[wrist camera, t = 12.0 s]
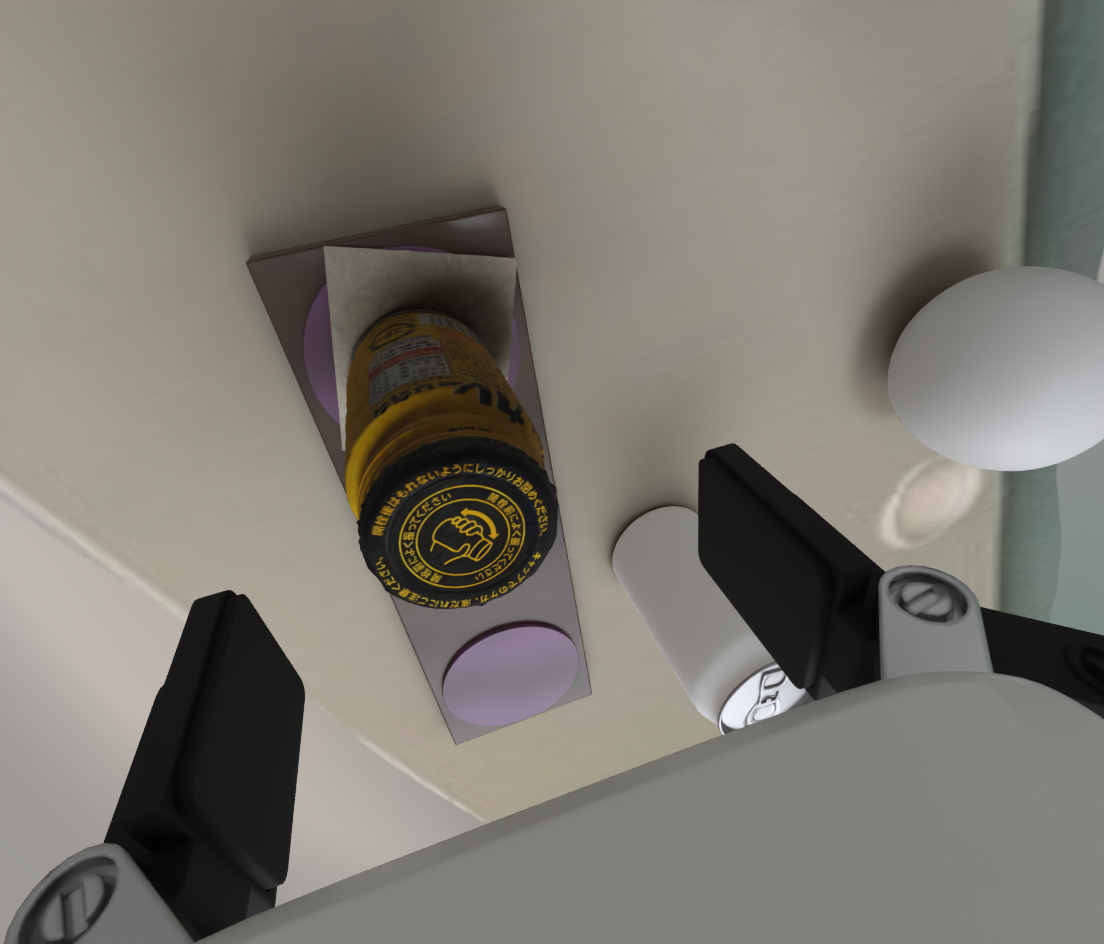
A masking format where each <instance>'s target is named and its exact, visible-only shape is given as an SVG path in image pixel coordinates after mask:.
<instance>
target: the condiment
mask: <svg viewBox="0 0 1104 944" xmlns="http://www.w3.org/2000/svg"><path fill="white" fill-rule="evenodd" d="M324 256H325V268H326V278H327V289H328V301H329V309H330V321H331V333H332V343H333V353H334V364H335V375H336V386H337V396H338V407H339V419H340V429H341V440H342V451H345V462H344V469H343V474H344V478H345V486H346V493H347V499H348V502H349V504H350V506H351V509H352V511H353V513H354V514H355V516H356V518H357V519H358V521H357V524H358V533H359V536H360V539H359V544H360V550H361V552H362V553H363V557H364V559H365V562H366V564H367V567H368V569H369V570H370V571H371V572H372V573H373V574H374V575H375V576H376V577H377V578H378V579H379V580H380V582H381V583H382V585H383V587H384V589H385V590H386V591H387V592H389V593H390V594H392V595H393V596H395V597H397V598H399V599H401V600H404V601H406V602H408V603H412V604H415V605H418V606H422V607H427V608H433V609H455V608H467V607H471V606H484V605H485V604H486V603H487V602H489V601H491V600H494V599H497V598H500V597H502V596H504V595H506V594H508V593H510V592H512V591H513V590H514V589H515V588H517V587H518V586H519V585H521V584H522V583H523V582H524V581H525V580H526V579H528V578H529V577H530V576H532V575H533V574H535V573H536V571H537V570H538V568H539V567H540V565H541V564H542V563H543V561H544V559H545V558H546V556H547V554H548V553H549V551H550V549H551V548H552V546H553V544H554V542H555V539H556V537H557V523H558V508H559V504H558V501H557V499H556V496H555V494H556V493H557V490H556V487H555V486H554V485H553V484H552V483H551V482H550V479H549V476H548V474H547V471H546V470H545V455H544V448H543V445H542V441H541V438H540V436H539V434H538V432H537V430H536V428H535V426H534V424H533V423H532V421H531V419H530V418H529V416H528V414H527V413H526V411H525V409H524V407H523V406H522V404H521V403H520V402H519V400H518V398H517V397H516V395H515V393H514V392H513V390H512V388H511V386H510V385H509V383H508V370H509V361H510V349H511V334H512V322H513V304H514V293H515V284H516V266H517V258H505V257H493V256H479V255H460V254H452V253H434V252H417V251H410V250H382V249H369V248H349V247H332V246H324Z"/></svg>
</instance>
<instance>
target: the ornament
mask: <svg viewBox="0 0 1104 944" xmlns="http://www.w3.org/2000/svg"><path fill="white" fill-rule="evenodd" d="M888 392H889V397H890V401H891V404H892V406H893V409H894V411H895V413H896V415H897V416H898V418H899V420H900V421H901V422H902V424H903V425H904V426H905V428H906V429H907V430H908V431H909V432H910V433H911V434H912V435H913V436H914V437H915V438H916V439H918V440H919V441H920V442H921V443H923V444H924V445H925V446H927V447H928V448H930V449H932V450H933V451H935V452H937V453H939V454H941V455H943V456H945V457H947V458H949V459H951V460H954V461H957V462H959V463H962V464H966V465H969V466H973V467H977V468H982V469H988V470H998V471H1022V470H1031V469H1037V468H1042V467H1046V466H1050V465H1053V464H1056V463H1059V462H1062V461H1065V460H1067V459H1069V458H1072V457H1074V456H1076V455H1078V454H1080V453H1082V452H1084V451H1085V450H1087V449H1089V448H1090V447H1092V446H1094V445H1095V444H1096V443H1098V442H1099V441H1101V440H1102V439H1103V438H1104V284H1102V283H1100V282H1098V281H1096V280H1093V279H1091V278H1089V277H1086V276H1083V275H1080V274H1077V273H1074V272H1070V271H1066V270H1061V269H1055V268H1048V267H1034V266H1025V267H1010V268H1003V269H997V270H993V271H988V272H985V273H981V274H978V275H975V276H972V277H970V278H967V279H965V280H963V281H961V282H959V283H957V284H955V285H953V286H951V287H949V288H948V289H946V290H945V291H943V292H942V293H940V294H939V295H937V296H936V297H935V298H933V299H932V300H931V301H930V302H929V303H927V304H926V305H925V306H924V307H923V308H922V309H921V310H920V311H919V312H918V313H917V314H916V315H915V316H914V317H913V319H912V320H911V321H910V322H909V324H908V325H907V326H906V328H905V329H904V331H903V332H902V334H901V336H900V337H899V339H898V341H897V343H896V346H895V348H894V351H893V353H892V357H891V360H890V364H889V370H888Z"/></svg>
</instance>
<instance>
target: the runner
mask: <svg viewBox="0 0 1104 944" xmlns="http://www.w3.org/2000/svg"><path fill="white" fill-rule="evenodd" d="M324 246H332V247H349V248H369V249H382V250H410V251H417V252H434V253H452V254H460V255H479V256H493V257H505V258H515V255H514V250H513V244H512V238H511V233H510V227H509V221H508V216H507V210H506V208H504V207H502V206H495V207H490V208H485V209H480V210H475V211H470V212H466V213H461V214H456V215H451V216H446V217H441V218H437V219H432V220H427V221H422V222H417V223H412V224H408V225H403V226H398V227H393V228H388V229H383V230H379V231H374V232H369V233H364V234H359V235H354V236H350V237H345V238H340V239H335V240H330V241H325V242H321V243H316V244H311V245H306V246H301V247H296V248H292V249H287V250H282V251H277V252H272V253H267V254H263V255H258V256H253V257H250V258H249V259H248V260H247V262H246V265H247V267H248V269H249V272H250V274H251V276H252V278H253V281H254V283H255V285H256V288H257V290H258V292H259V295H260V297H261V299H262V301H263V304H264V306H265V308H266V311H267V313H268V315H269V318H270V320H271V322H272V324H273V327H274V329H275V331H276V334H277V336H278V338H279V341H280V343H281V345H282V347H283V350H284V352H285V354H286V357H287V359H288V361H289V364H290V366H291V368H292V370H293V373H294V375H295V377H296V380H297V382H298V384H299V386H300V389H301V391H302V393H303V396H304V398H305V400H306V403H307V405H308V407H309V409H310V412H311V414H312V416H313V419H314V421H315V423H316V426H317V428H318V430H319V432H320V435H321V437H322V439H323V442H324V444H325V446H326V449H327V451H328V453H329V455H330V458H331V460H332V462H333V465H334V467H335V469H336V472H337V474H338V476H339V478H340V481H341V483H342V485H343V488H344V490H345V492H346V486H345V478H344V474H343V469H344V462H345V451H342V440H341V429H340V419H339V407H338V396H337V386H336V375H335V364H334V353H333V343H332V333H331V321H330V309H329V301H328V289H327V278H326V268H325V256H324ZM508 383H509V385H510V386H511V388H512V390H513V392H514V393H515V395H516V397H517V398H518V400H519V402H520V403H521V404H522V406H523V407H524V409H525V411H526V413H527V414H528V416H529V418H530V419H531V421H532V423H533V424H534V426H535V428H536V430H537V432H538V434H539V436H540V438H541V441H542V445H543V448H544V455H545V470H546V471H547V474H548V476H549V479H550V482H551V483H552V484H553V485H554V486H555V482H554V476H553V470H552V465H551V459H550V454H549V448H548V442H547V437H546V431H545V425H544V420H543V414H542V408H541V403H540V397H539V391H538V386H537V380H536V374H535V369H534V363H533V357H532V352H531V346H530V340H529V335H528V329H527V323H526V318H525V312H524V306H523V301H522V295H521V289H520V284H519V278H518V272H517V267H516V284H515V293H514V304H513V322H512V334H511V349H510V361H509V370H508ZM346 494H347V493H346ZM555 496H556V499H557V493H556V494H555ZM557 501H558V499H557ZM357 520H358V519H357ZM390 596H391V598H392V600H393V602H394V605H395V607H396V609H397V612H398V614H399V616H400V619H401V621H402V623H403V625H404V628H405V630H406V632H407V635H408V637H409V639H410V642H411V644H412V646H413V648H414V651H415V653H416V655H417V658H418V660H419V662H420V665H421V667H422V669H423V671H424V674H425V676H426V678H427V681H428V683H429V685H430V688H431V690H432V692H433V694H434V697H435V699H436V701H437V704H438V706H439V708H440V710H441V713H442V715H443V717H444V720H445V722H446V724H447V727H448V729H449V731H450V733H451V736H452V738H453V740H454V743H455V744H456V745H458V744H460V743H463V742H466V741H468V740H471V739H474V738H476V737H479V736H482V735H484V734H487V733H490V732H493V731H495V730H498V729H501V728H503V727H506V726H509V725H511V724H514V723H517V722H519V721H522V720H525V719H527V718H530V717H533V716H536V715H538V714H541V713H544V712H546V711H549V710H552V709H554V708H557V707H560V706H562V705H565V704H568V703H570V702H573V701H576V700H578V699H581V698H584V697H587V696H589V695H591V694H592V691H591V686H590V680H589V674H588V669H587V663H586V657H585V652H584V646H583V640H582V635H581V629H580V623H579V618H578V612H577V606H576V601H575V595H574V589H573V584H572V578H571V572H570V567H569V561H568V555H567V550H566V544H565V538H564V533H563V527H562V521H561V516H560V510H559V508H558V523H557V537H556V539H555V542H554V544H553V546H552V548H551V549H550V551H549V553H548V554H547V556H546V558H545V559H544V561H543V563H542V564H541V565H540V567H539V568H538V570H537V571H536V573H535V574H533V575H532V576H530V577H529V578H528V579H526V580H525V581H524V582H523V583H522V584H521V585H519V586H518V587H517V588H515V589H514V590H513V591H512V592H510V593H508V594H506V595H504V596H502V597H500V598H497V599H494V600H491V601H489V602H487V603H486V604H485V605H484V606H471V607H467V608H455V609H433V608H427V607H422V606H418V605H415V604H412V603H408V602H406V601H404V600H401V599H399V598H397V597H395V596H393V595H392V594H390Z"/></svg>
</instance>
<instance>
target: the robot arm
mask: <svg viewBox="0 0 1104 944" xmlns="http://www.w3.org/2000/svg"><path fill="white" fill-rule="evenodd" d="M698 555H699V559H700V562H701V564H702V566H703V567H704V569H705V570H706V571H707V573H708V574H709V575H710V577H711V578H712V579H713V580H714V582H715V583H716V584H717V586H718V587H719V588H720V590H721V591H722V592H723V594H724V595H725V596H726V598H727V599H728V600H729V601H730V603H731V604H732V605H733V607H734V608H735V609H736V611H737V612H738V613H739V615H740V616H741V617H742V618H743V620H744V621H745V622H746V624H747V625H748V626H749V628H750V629H751V630H752V632H753V633H754V634H755V635H756V637H757V638H758V639H759V641H760V642H761V643H762V645H763V646H764V647H765V649H766V650H767V651H768V652H769V654H770V655H771V656H772V658H773V659H774V660H775V662H776V663H777V664H778V666H779V667H780V668H781V670H782V671H783V672H784V673H785V675H786V676H787V677H788V679H789V680H790V681H791V683H792V684H793V685H794V686H795V687H796V688H798V689H804V688H805V690H806V691H807V692H808V693H809V695H810V696H811V697H812V699H813V700H814V701H815V702H812V703H809V704H806V705H803V706H800V707H798V708H795V709H792V710H789V711H786V712H783V713H781V714H778V715H775V716H772V717H769V718H767V719H764V720H761V721H759V722H756V723H753V724H751V725H748V726H745V727H743V728H740V729H737V730H735V731H732V732H729V733H727V734H724V735H721V736H719V737H716V738H713V739H711V740H708V741H705V742H702V743H700V744H697V745H694V746H692V747H689V748H686V749H684V750H681V751H678V752H676V753H673V754H670V755H668V756H665V757H662V758H660V759H657V760H654V761H652V762H649V763H646V764H644V765H641V766H638V767H636V768H633V769H631V770H628V771H625V772H623V773H620V774H617V775H615V776H612V777H609V778H607V779H604V780H601V781H599V782H596V783H594V784H591V785H588V786H586V787H583V788H580V789H578V790H575V791H572V792H570V793H567V794H565V795H562V796H559V797H557V798H554V799H551V800H549V801H546V802H544V803H541V804H538V805H536V806H533V807H530V808H528V809H525V810H523V811H520V812H517V813H515V814H512V815H509V816H507V817H504V818H502V819H499V820H496V821H494V822H491V823H488V824H486V825H483V826H481V827H478V828H476V829H473V830H470V831H468V832H465V833H462V834H460V835H457V836H455V837H452V838H450V839H447V840H444V841H442V842H439V843H437V844H434V845H431V846H429V847H426V848H424V849H421V850H418V851H416V852H413V853H411V854H408V855H405V856H403V857H400V858H398V859H395V860H392V861H390V862H387V863H385V864H382V865H380V866H377V867H374V868H372V869H369V870H367V871H364V872H361V873H359V874H356V875H354V876H351V877H348V878H346V879H343V880H341V881H339V882H336V883H334V884H331V885H329V886H326V887H324V888H321V889H319V890H316V891H314V892H311V893H309V894H307V895H304V896H301V897H299V898H296V899H294V900H292V901H289V902H287V903H284V904H282V905H279V906H277V907H275V901H276V892H277V886H278V885H280V884H283V883H284V881H285V880H286V876H287V872H288V864H289V863H288V862H289V854H290V844H291V834H292V823H293V813H294V803H295V793H296V783H297V773H298V763H299V752H300V743H301V733H302V723H303V712H304V703H305V690H304V685H303V682H302V680H301V678H300V677H299V675H298V673H297V672H296V670H295V669H294V667H293V666H292V664H291V663H290V661H289V660H288V658H287V657H286V655H285V654H284V652H283V651H282V649H281V647H280V646H279V644H278V643H277V641H276V640H275V638H274V637H273V635H272V634H271V632H270V631H269V629H268V628H267V626H266V625H265V623H264V621H263V620H262V618H261V617H260V615H259V614H258V612H257V611H256V609H255V608H254V606H253V605H252V603H251V602H250V600H249V599H248V597H247V596H246V595H244V594H240V595H236V594H235V593H234V592H233V591H231V590H226V591H223V592H219V593H216V594H213V595H209V596H206V597H202V598H199V599H197V600H195V601H194V603H193V604H192V607H191V610H190V612H189V615H188V618H187V621H186V624H185V627H184V629H183V633H182V635H181V638H180V641H179V644H178V647H177V649H176V652H175V655H174V658H173V661H172V664H171V666H170V669H169V672H168V675H167V678H166V681H165V683H164V685H163V686H162V687H161V688H160V690H159V692H158V694H157V695H156V698H155V701H154V704H153V706H152V709H151V712H150V715H149V717H148V720H147V723H146V726H145V728H144V732H143V734H142V737H141V740H140V742H139V745H138V748H137V751H136V754H135V756H134V759H133V762H132V765H131V768H130V770H129V773H128V776H127V779H126V782H125V784H124V787H123V790H122V793H121V795H120V798H119V801H118V804H117V807H116V810H115V812H114V815H113V818H112V821H111V823H110V826H109V829H108V832H107V835H106V837H105V840H104V843H103V844H99V845H95V846H92V847H88V848H86V849H84V850H82V851H80V852H78V853H76V854H74V855H73V856H71V857H69V858H67V859H66V860H65V861H64V862H62V863H61V864H60V865H58V866H57V867H56V868H54V869H53V870H52V871H50V872H49V874H47V875H46V876H45V877H44V879H43V880H41V882H39V883H38V885H37V886H36V887H35V888H34V889H33V890H32V891H31V892H30V894H29V895H28V896H27V898H26V899H25V900H24V902H23V903H22V905H21V906H20V907H19V909H18V910H17V912H16V914H15V916H14V918H13V920H12V922H11V924H10V926H9V928H8V930H7V933H6V937H5V941H4V944H1104V636H1103V635H1099V634H1095V633H1090V632H1086V631H1082V630H1077V629H1073V628H1069V627H1064V626H1060V625H1056V624H1052V623H1047V622H1043V621H1039V620H1034V619H1030V618H1026V617H1022V616H1017V615H1013V614H1009V613H1004V612H1000V611H996V610H991V609H987V608H983V607H980V605H979V603H978V601H977V598H976V596H975V594H974V593H973V592H972V591H971V590H970V589H969V588H968V587H967V586H966V585H965V584H964V583H962V582H961V581H959V580H958V579H956V578H955V577H954V576H951V575H949V574H947V573H945V572H942V571H940V570H937V569H933V568H929V567H925V566H914V565H907V566H900V567H895V568H893V569H891V570H889V571H887V572H885V571H884V570H883V569H881V568H880V567H879V566H878V565H877V564H876V563H874V562H873V561H872V560H871V559H870V558H869V557H867V556H866V555H865V554H864V553H863V552H862V551H861V550H859V549H858V548H857V547H856V546H855V545H854V544H852V543H851V542H850V541H849V540H848V539H847V538H845V537H844V536H843V535H842V534H841V533H840V532H838V531H837V530H836V529H835V528H834V527H833V526H832V525H830V524H829V523H828V522H827V521H826V520H825V519H823V518H822V517H821V516H820V515H819V514H818V513H816V512H815V511H814V510H813V509H812V508H811V507H809V506H808V505H807V504H806V503H805V502H804V501H803V500H801V499H800V498H799V497H798V496H797V495H795V494H794V493H792V492H791V491H790V490H788V489H787V488H786V487H785V486H784V485H783V484H782V483H780V482H779V481H778V480H777V479H776V478H775V477H773V476H772V475H771V474H770V473H769V472H768V471H766V470H765V469H764V468H763V467H762V466H761V465H760V464H758V463H757V462H756V461H755V460H754V459H753V458H751V457H750V456H749V455H748V454H747V453H746V452H745V451H743V450H742V449H741V448H740V447H739V446H737V445H736V444H733V443H731V444H728V445H724V446H721V447H717V448H714V449H710V450H708V451H707V452H706V454H705V458H704V459H701V460H700V462H699V487H698Z"/></svg>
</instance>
